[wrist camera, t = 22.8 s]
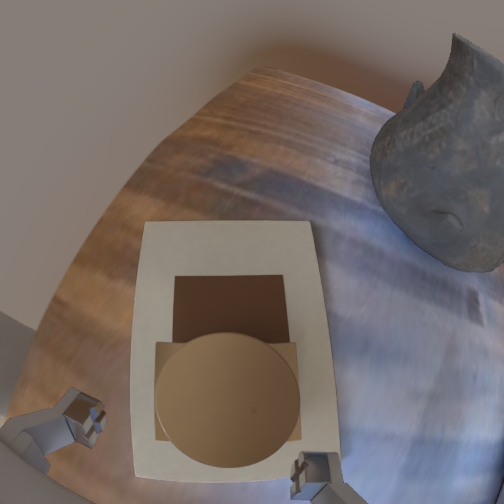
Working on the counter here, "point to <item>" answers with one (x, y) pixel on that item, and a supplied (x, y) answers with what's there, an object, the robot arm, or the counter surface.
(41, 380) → the counter surface
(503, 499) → the square plate
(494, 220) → the vessel
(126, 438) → the counter surface
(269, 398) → the scrub brush
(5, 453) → the robot arm
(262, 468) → the cream rectangular board
